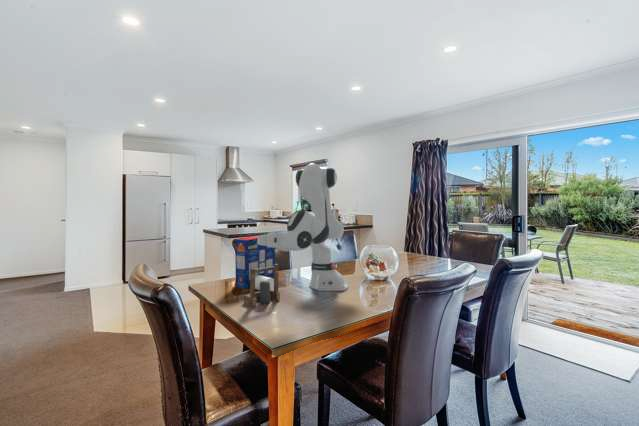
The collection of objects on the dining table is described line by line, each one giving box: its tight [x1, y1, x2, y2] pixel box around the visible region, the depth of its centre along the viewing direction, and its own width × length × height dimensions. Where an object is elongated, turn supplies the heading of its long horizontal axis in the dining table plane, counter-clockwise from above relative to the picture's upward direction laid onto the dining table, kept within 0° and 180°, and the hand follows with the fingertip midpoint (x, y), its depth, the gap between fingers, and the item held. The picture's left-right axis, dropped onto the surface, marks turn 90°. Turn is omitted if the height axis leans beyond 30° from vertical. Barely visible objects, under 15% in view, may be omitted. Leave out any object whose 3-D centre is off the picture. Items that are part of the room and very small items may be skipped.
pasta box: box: [234, 235, 276, 290], centre depth 194 cm, size 28×8×28 cm, turn 153°
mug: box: [255, 275, 274, 291], centre depth 179 cm, size 12×10×8 cm
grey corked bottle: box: [259, 280, 271, 305], centre depth 157 cm, size 5×5×11 cm
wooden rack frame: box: [243, 263, 281, 308], centre depth 158 cm, size 8×16×18 cm, turn 136°
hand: (272, 242), depth 152 cm, fingers open, 8 cm apart
